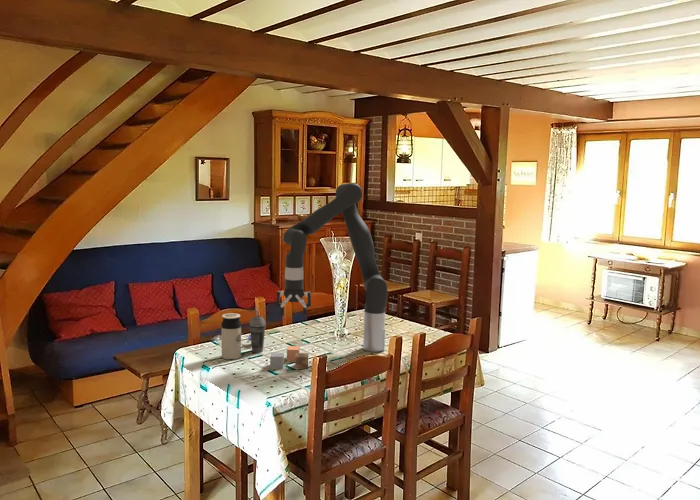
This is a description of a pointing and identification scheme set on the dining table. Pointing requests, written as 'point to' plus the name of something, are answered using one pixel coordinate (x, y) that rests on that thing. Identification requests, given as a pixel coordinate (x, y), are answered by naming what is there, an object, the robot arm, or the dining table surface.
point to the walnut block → (301, 361)
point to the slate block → (276, 360)
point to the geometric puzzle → (249, 337)
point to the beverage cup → (257, 333)
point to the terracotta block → (292, 352)
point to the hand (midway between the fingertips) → (293, 316)
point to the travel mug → (231, 336)
